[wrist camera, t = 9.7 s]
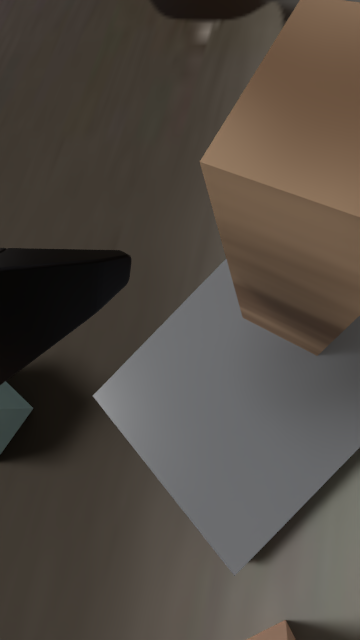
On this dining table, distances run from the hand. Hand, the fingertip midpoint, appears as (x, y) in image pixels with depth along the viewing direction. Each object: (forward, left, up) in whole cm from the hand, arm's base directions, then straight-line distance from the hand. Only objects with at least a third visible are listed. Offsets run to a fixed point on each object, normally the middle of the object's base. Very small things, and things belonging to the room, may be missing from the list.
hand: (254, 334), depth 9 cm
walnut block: (+4, +1, -10) cm, 11 cm away
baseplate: (0, 0, -11) cm, 11 cm away
